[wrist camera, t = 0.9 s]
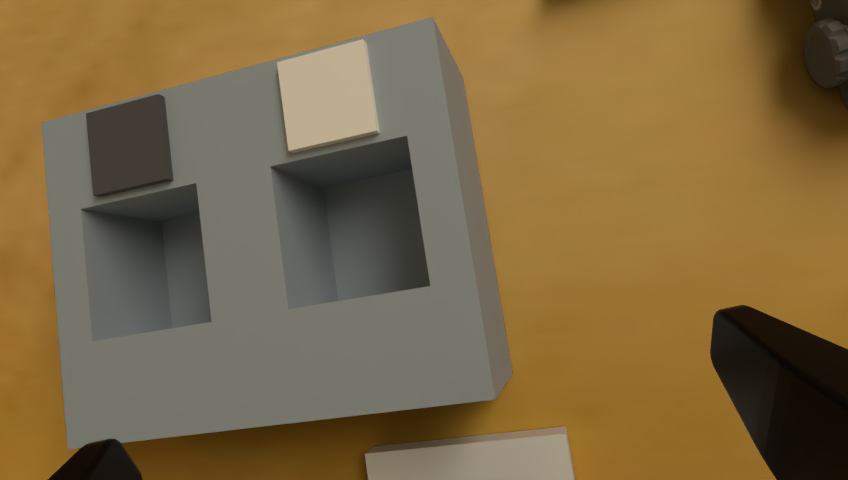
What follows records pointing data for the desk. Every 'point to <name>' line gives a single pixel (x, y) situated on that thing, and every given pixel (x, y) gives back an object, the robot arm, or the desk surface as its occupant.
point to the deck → (477, 458)
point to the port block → (275, 246)
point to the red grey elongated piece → (828, 45)
